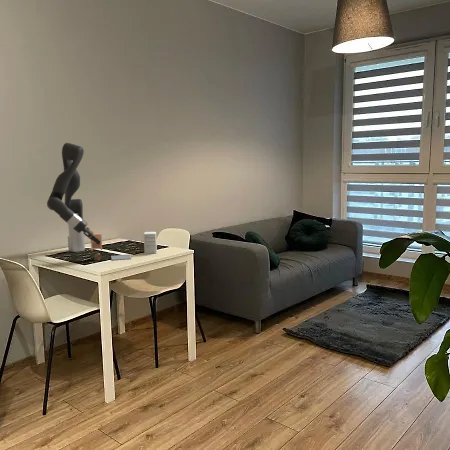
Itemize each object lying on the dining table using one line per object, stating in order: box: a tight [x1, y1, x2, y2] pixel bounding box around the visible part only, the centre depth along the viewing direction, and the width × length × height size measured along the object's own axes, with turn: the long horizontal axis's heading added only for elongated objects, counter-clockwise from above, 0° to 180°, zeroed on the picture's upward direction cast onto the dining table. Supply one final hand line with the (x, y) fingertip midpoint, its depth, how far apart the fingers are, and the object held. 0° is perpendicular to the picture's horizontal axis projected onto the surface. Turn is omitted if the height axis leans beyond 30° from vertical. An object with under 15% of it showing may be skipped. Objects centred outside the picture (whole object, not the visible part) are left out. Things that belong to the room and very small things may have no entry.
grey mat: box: [110, 254, 132, 262], centre depth 270 cm, size 11×11×1 cm
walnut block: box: [94, 253, 102, 261], centre depth 266 cm, size 3×3×3 cm
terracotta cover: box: [90, 232, 103, 252], centre depth 265 cm, size 6×6×10 cm
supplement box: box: [143, 231, 158, 255], centre depth 283 cm, size 7×7×13 cm
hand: (99, 242), depth 265 cm, fingers closed on terracotta cover, 6 cm apart
